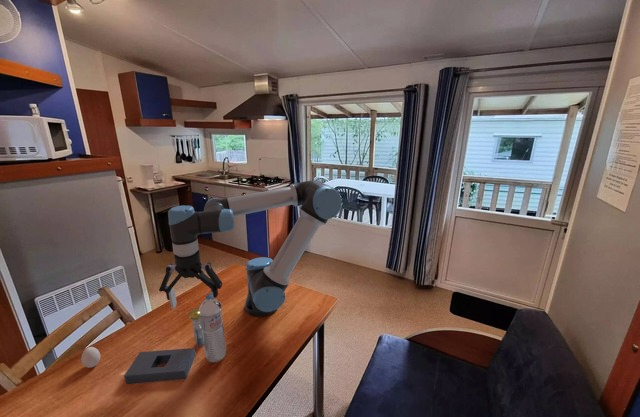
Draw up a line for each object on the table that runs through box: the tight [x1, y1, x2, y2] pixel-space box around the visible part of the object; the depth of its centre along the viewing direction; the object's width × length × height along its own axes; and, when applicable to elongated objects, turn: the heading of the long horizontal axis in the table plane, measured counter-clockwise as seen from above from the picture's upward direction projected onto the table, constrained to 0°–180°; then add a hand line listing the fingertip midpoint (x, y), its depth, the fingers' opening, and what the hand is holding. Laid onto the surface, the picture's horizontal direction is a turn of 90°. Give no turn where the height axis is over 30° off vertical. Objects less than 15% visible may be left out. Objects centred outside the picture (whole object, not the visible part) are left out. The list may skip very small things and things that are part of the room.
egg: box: [80, 346, 101, 369], centre depth 87 cm, size 5×5×7 cm
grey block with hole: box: [123, 347, 197, 385], centre depth 86 cm, size 18×9×4 cm, turn 97°
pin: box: [188, 307, 204, 348], centre depth 95 cm, size 5×5×14 cm
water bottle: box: [198, 294, 227, 364], centre depth 89 cm, size 7×7×25 cm
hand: (194, 305), depth 92 cm, fingers open, 13 cm apart
